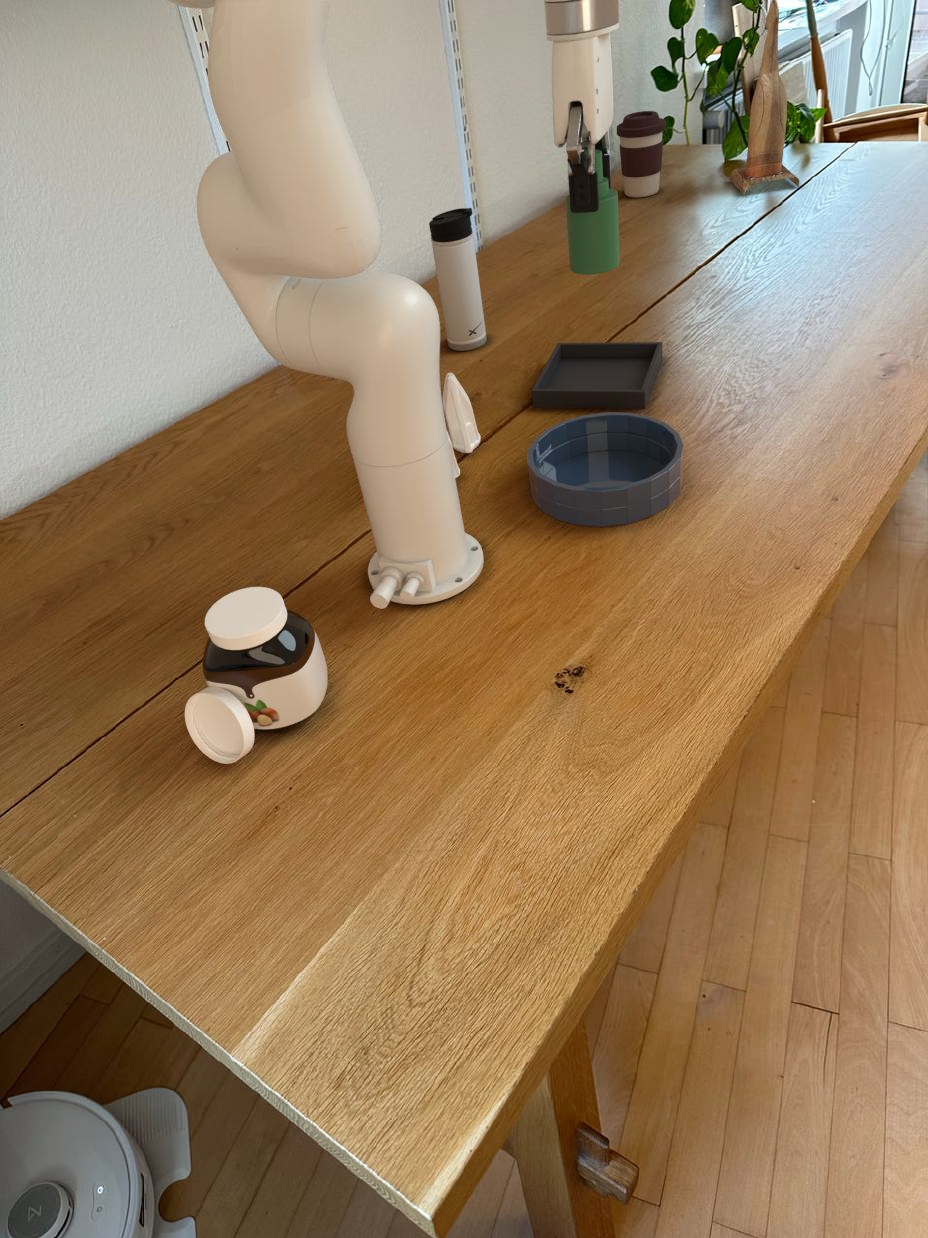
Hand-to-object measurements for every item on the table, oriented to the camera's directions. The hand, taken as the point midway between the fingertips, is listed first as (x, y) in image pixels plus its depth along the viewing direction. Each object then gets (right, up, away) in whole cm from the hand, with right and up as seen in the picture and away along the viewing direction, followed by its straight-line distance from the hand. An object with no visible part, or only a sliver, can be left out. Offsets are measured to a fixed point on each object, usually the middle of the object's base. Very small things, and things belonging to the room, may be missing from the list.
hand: (591, 200), depth 101 cm
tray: (+4, -16, +21) cm, 26 cm away
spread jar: (-33, -58, -21) cm, 70 cm away
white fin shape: (-16, -29, +10) cm, 34 cm away
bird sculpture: (+47, +41, +78) cm, 100 cm away
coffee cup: (+24, +43, +86) cm, 99 cm away
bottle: (+1, -6, +5) cm, 7 cm away
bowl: (+2, -33, +1) cm, 33 cm away
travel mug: (-14, -5, +38) cm, 41 cm away
